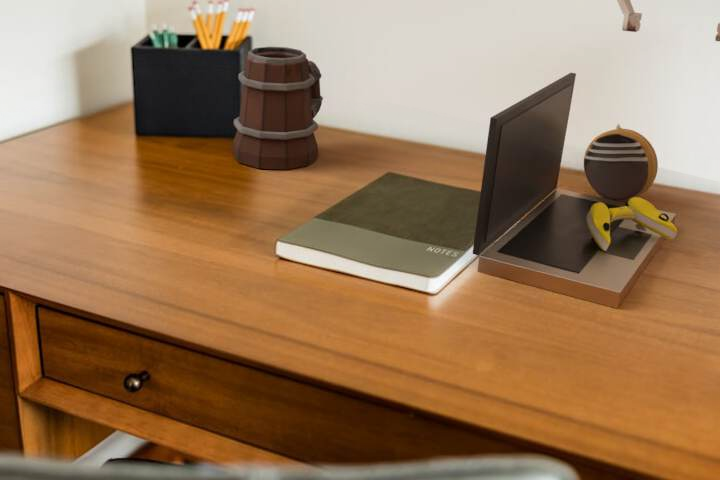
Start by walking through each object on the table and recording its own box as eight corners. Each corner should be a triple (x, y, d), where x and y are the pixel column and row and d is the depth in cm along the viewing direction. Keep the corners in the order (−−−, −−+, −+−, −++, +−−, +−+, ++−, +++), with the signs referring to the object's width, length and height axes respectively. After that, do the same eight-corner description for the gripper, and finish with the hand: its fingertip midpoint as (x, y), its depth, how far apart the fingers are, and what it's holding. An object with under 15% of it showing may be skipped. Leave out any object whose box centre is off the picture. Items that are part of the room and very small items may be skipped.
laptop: (673, 227, 110) (676, 212, 109) (617, 308, 89) (620, 291, 88) (555, 201, 117) (557, 187, 116) (477, 271, 96) (479, 255, 95)
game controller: (636, 211, 106) (648, 189, 104) (668, 248, 102) (681, 226, 100) (568, 222, 102) (580, 199, 100) (599, 261, 98) (611, 238, 96)
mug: (282, 176, 121) (284, 65, 115) (216, 157, 127) (214, 51, 121) (349, 150, 133) (354, 48, 127) (286, 134, 139) (287, 36, 133)
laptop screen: (577, 73, 110) (570, 72, 110) (497, 119, 89) (490, 117, 89) (557, 188, 116) (551, 186, 116) (479, 255, 95) (472, 254, 95)
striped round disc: (575, 193, 120) (586, 120, 116) (588, 186, 123) (599, 115, 119) (642, 211, 115) (656, 136, 111) (654, 204, 117) (668, 130, 113)
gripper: (818, -103, 86) (787, 42, 91) (606, -112, 95) (590, 21, 100) (812, -101, 81) (780, 53, 86) (588, -110, 90) (572, 29, 95)
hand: (676, 35), depth 93 cm, fingers open, 8 cm apart
